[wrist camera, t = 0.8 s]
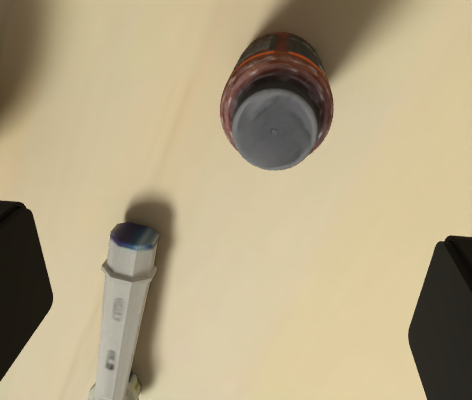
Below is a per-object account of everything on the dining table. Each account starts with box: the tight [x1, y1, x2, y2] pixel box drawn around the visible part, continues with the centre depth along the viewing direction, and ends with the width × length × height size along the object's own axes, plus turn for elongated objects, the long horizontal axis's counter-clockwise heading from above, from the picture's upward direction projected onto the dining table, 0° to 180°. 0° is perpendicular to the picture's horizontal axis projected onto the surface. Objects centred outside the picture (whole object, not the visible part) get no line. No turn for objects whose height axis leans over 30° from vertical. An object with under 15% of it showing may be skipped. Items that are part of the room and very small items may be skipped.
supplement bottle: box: [220, 33, 333, 170], centre depth 24 cm, size 6×6×11 cm
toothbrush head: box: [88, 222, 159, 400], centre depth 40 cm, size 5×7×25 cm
